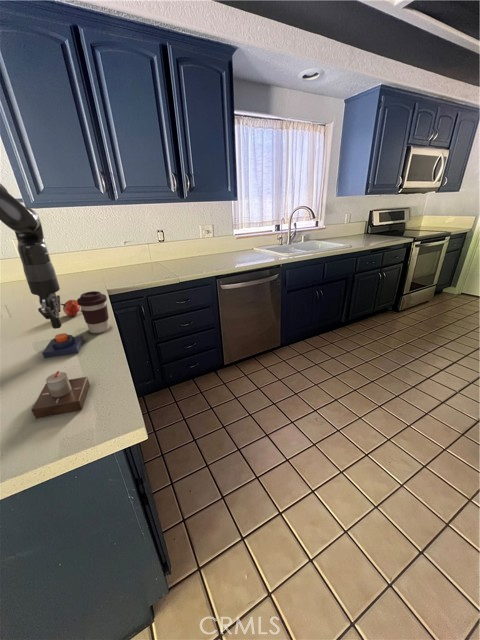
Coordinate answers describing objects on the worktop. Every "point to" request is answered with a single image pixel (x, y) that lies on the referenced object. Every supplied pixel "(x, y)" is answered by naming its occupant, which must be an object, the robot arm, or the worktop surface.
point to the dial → (58, 384)
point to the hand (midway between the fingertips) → (57, 327)
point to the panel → (62, 399)
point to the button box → (63, 347)
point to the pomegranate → (71, 308)
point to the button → (61, 337)
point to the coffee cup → (94, 311)
